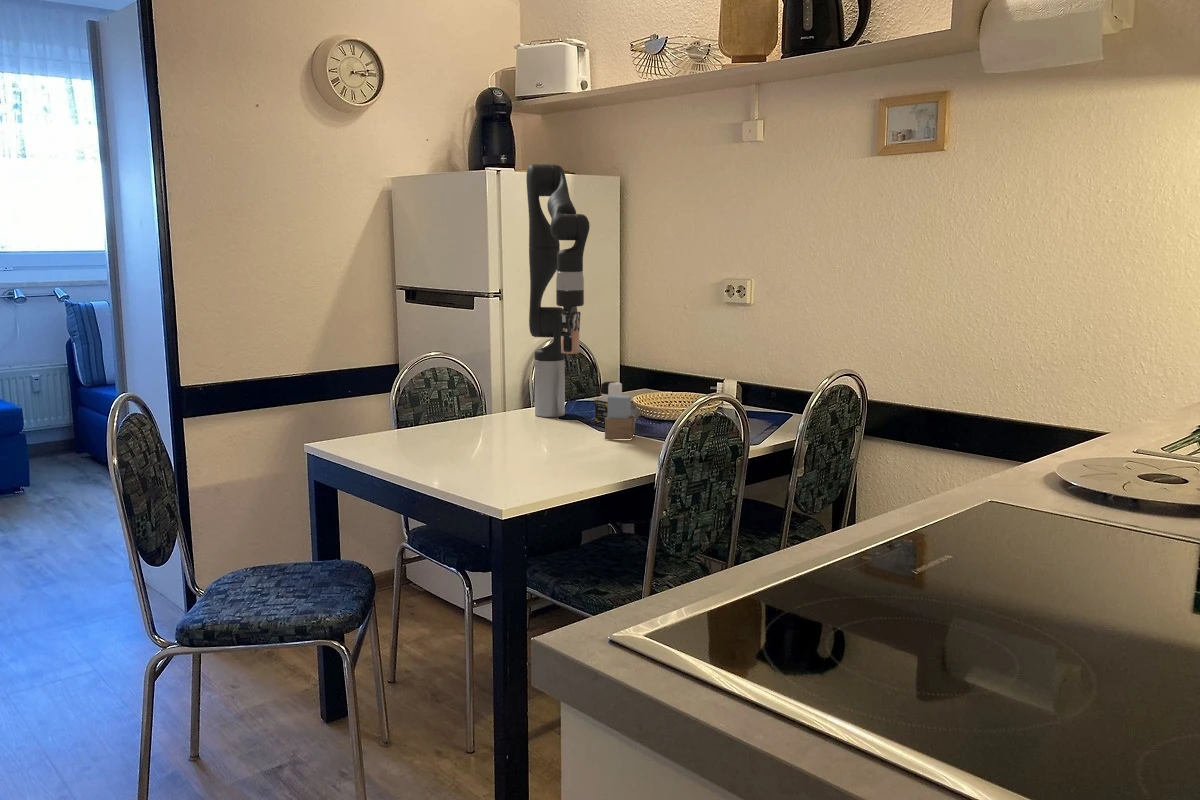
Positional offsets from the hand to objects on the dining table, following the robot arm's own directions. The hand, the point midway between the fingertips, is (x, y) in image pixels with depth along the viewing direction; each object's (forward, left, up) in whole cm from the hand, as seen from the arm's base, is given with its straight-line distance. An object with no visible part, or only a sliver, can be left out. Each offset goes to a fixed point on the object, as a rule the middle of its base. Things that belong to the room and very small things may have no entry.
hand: (570, 350), depth 261 cm
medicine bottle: (-19, +8, -24) cm, 31 cm away
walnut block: (+3, +15, -23) cm, 28 cm away
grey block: (+3, +15, -17) cm, 23 cm away
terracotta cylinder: (0, 0, -1) cm, 1 cm away
